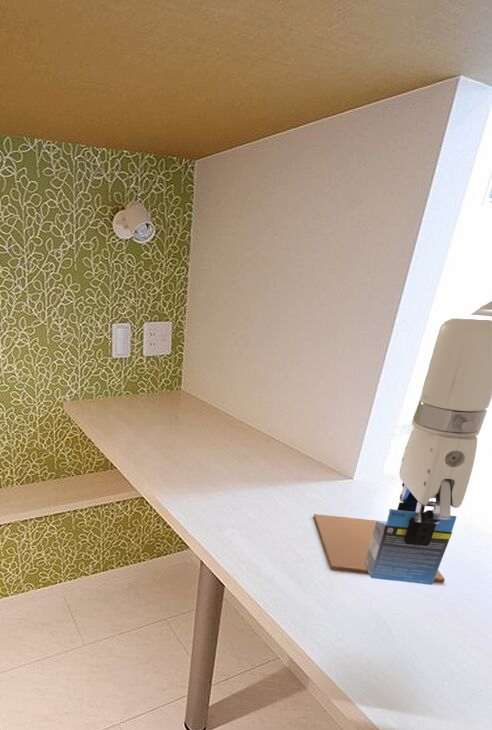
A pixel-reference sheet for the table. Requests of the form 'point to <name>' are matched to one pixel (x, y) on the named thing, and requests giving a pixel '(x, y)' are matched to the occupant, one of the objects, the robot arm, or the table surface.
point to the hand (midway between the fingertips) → (410, 533)
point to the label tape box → (406, 550)
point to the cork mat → (348, 541)
